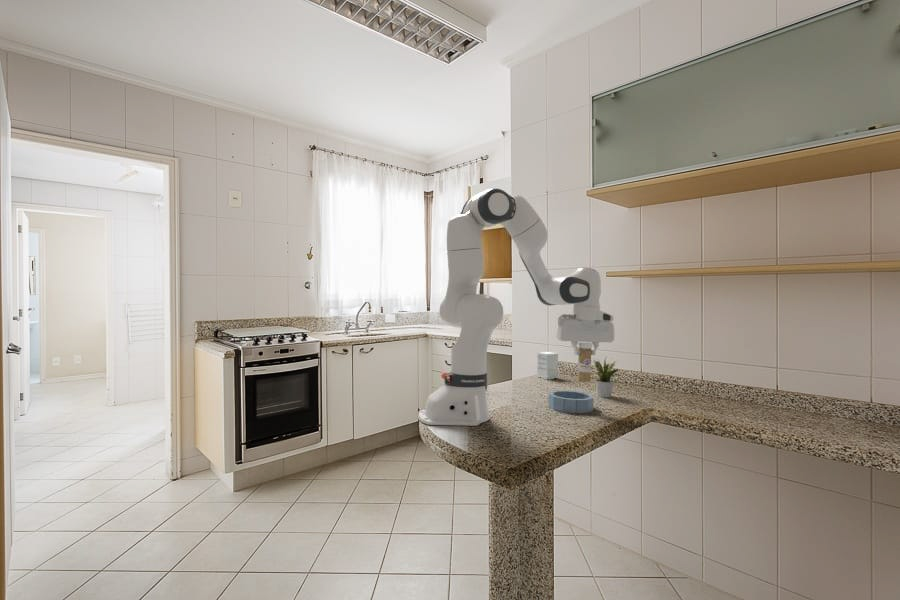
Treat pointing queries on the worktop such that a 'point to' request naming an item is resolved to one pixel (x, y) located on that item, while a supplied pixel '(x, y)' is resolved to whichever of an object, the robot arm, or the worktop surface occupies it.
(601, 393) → the house plant
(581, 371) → the sprinkles bottle
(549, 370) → the white canister
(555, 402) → the bowl
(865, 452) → the worktop surface
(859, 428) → the worktop surface
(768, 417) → the worktop surface
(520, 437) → the worktop surface
